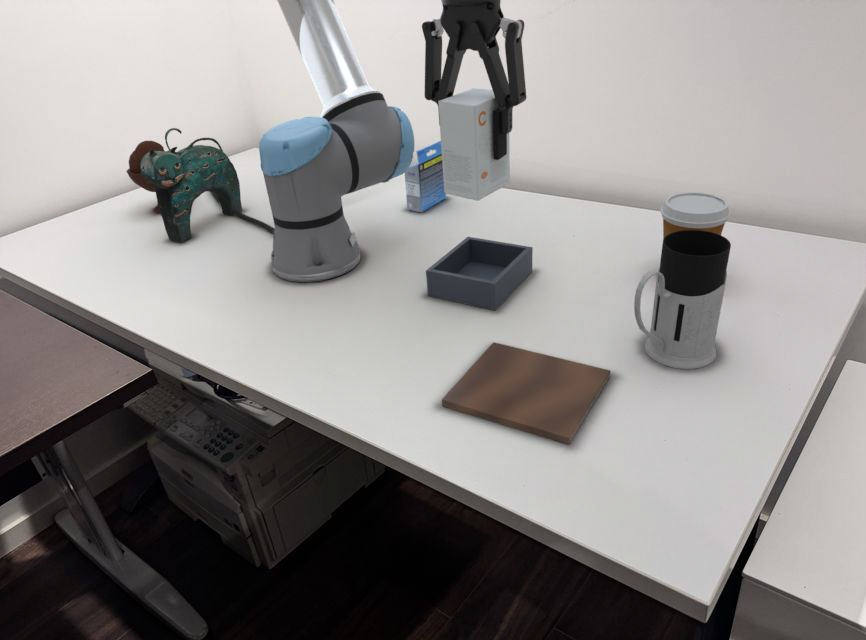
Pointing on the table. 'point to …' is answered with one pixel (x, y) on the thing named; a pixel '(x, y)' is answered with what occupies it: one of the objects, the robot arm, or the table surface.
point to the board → (528, 391)
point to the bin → (480, 272)
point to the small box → (471, 145)
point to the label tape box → (425, 180)
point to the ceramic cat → (190, 182)
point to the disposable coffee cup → (694, 213)
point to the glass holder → (686, 299)
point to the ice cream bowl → (135, 165)
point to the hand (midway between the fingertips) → (476, 153)
